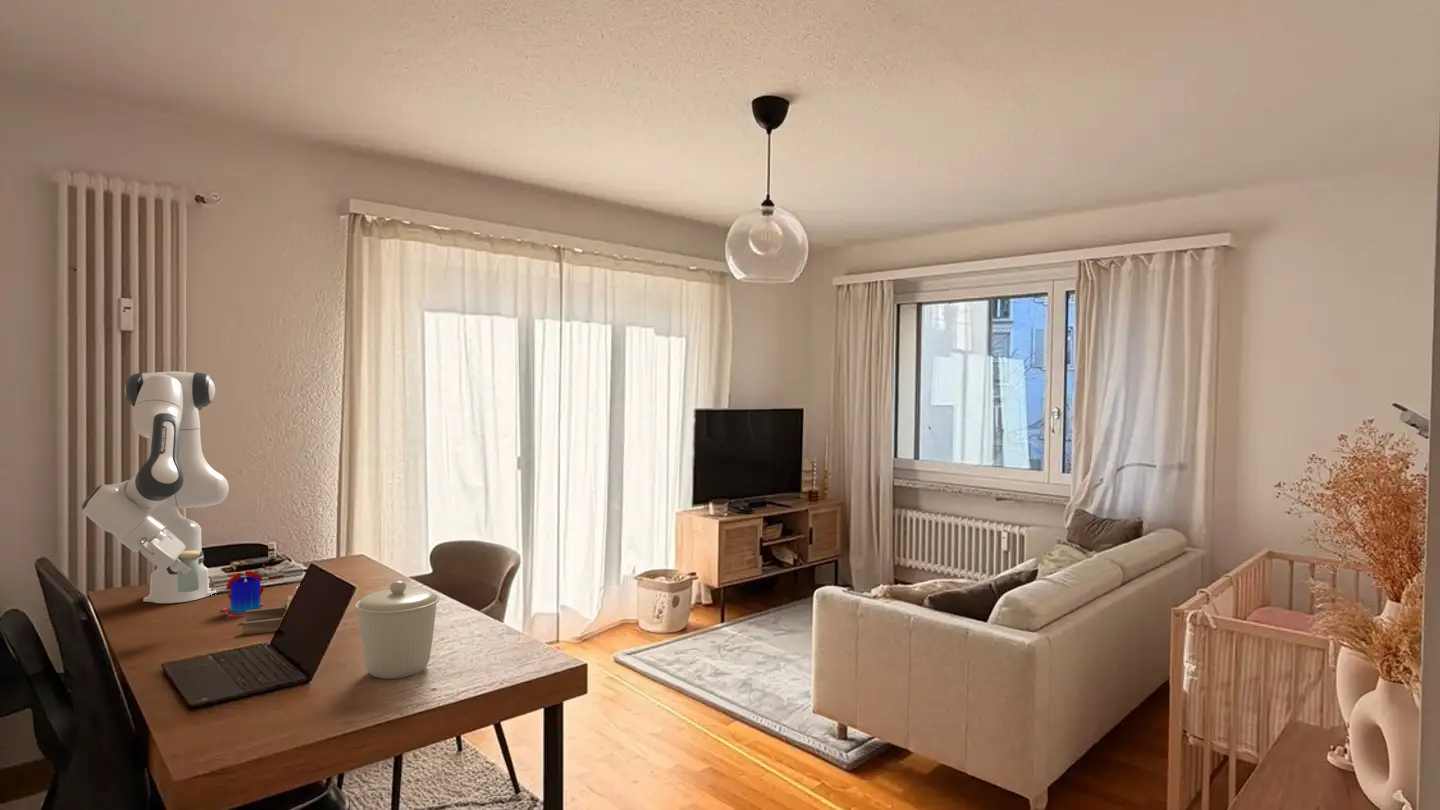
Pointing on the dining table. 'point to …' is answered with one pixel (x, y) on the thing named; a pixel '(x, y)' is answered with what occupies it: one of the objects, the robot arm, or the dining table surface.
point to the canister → (397, 630)
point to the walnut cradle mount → (264, 619)
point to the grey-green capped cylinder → (192, 578)
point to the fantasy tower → (244, 594)
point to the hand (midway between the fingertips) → (190, 569)
